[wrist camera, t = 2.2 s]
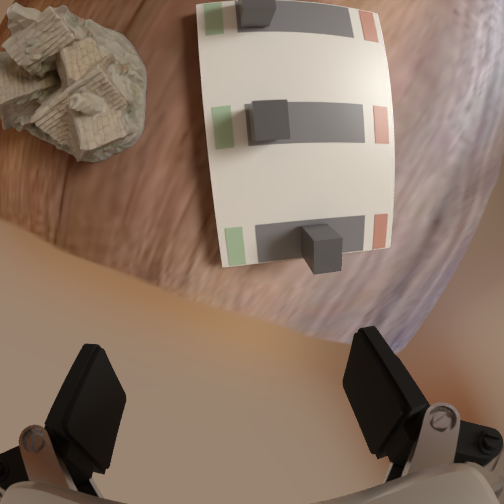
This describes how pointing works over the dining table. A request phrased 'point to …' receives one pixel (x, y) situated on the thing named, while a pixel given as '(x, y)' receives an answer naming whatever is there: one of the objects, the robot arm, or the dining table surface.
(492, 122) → the dining table surface
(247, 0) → the block
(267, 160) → the breaker panel
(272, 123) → the middle breaker
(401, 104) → the dining table surface
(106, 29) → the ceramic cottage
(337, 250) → the block
